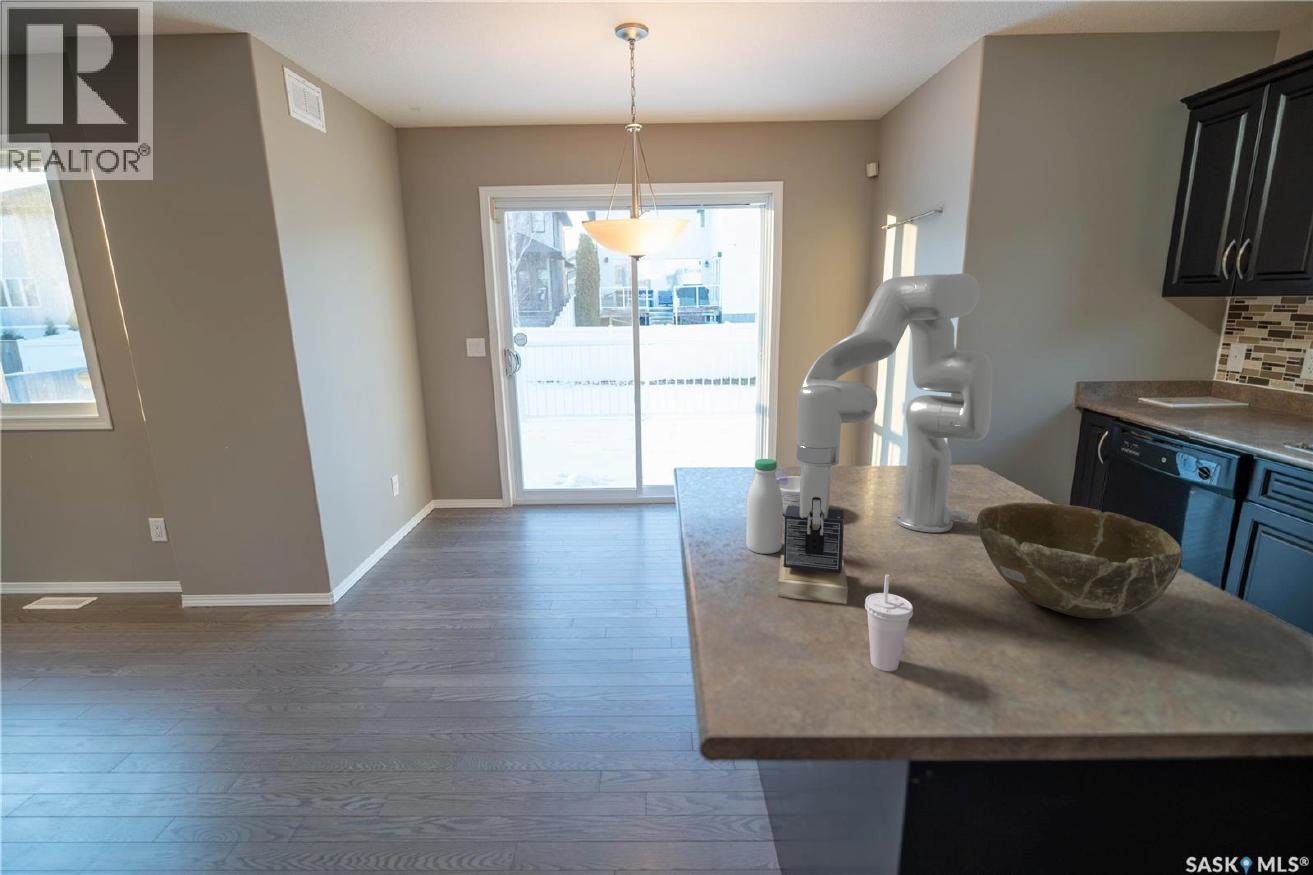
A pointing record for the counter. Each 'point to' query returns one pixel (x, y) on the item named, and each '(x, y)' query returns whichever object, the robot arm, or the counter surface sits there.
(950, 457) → the robot arm
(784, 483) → the paper bowls
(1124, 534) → the bowl
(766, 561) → the counter surface
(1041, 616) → the counter surface
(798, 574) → the base
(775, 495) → the milk bottle
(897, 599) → the smoothie
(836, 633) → the counter surface
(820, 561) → the small box
